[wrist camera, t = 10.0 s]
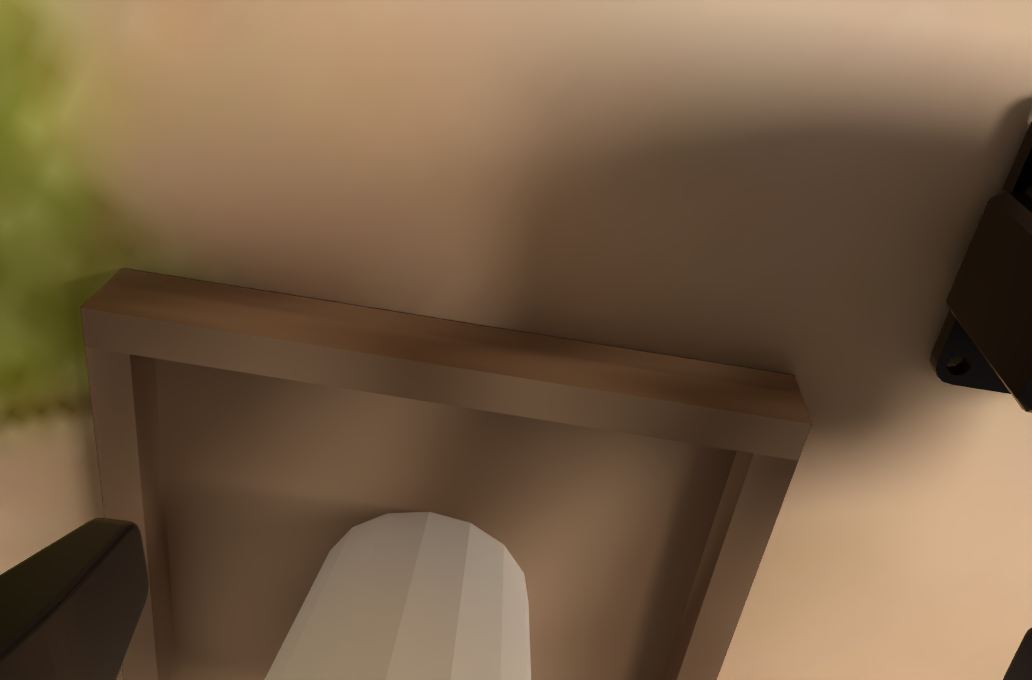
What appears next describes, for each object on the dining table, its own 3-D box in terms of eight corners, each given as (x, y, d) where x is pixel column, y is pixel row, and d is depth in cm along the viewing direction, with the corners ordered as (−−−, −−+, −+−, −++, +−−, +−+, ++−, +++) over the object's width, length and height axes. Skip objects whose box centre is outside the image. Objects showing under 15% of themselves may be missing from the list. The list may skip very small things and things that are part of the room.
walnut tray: (793, 375, 21) (812, 424, 20) (650, 788, 29) (653, 848, 28) (121, 268, 21) (80, 307, 20) (160, 711, 29) (133, 767, 28)
